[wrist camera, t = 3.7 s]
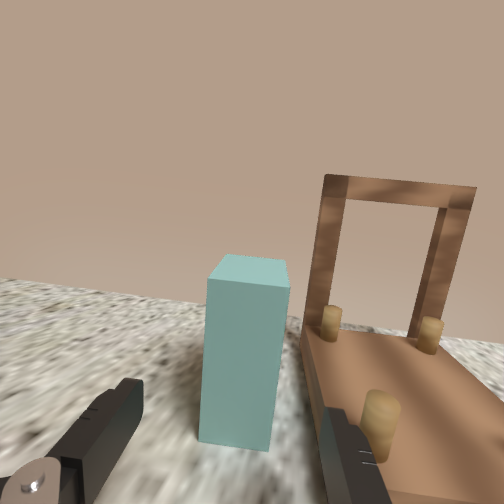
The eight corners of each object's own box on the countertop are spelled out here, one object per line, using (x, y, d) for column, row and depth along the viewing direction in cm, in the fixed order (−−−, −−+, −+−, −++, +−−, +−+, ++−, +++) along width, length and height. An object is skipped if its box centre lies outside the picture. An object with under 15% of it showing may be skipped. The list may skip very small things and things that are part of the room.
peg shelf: (333, 530, 13) (420, 137, 9) (299, 344, 28) (324, 174, 24) (617, 576, 12) (851, 172, 8) (420, 359, 28) (466, 187, 24)
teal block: (198, 441, 16) (207, 278, 14) (217, 377, 22) (226, 253, 20) (268, 452, 16) (290, 287, 14) (269, 384, 22) (284, 260, 20)
